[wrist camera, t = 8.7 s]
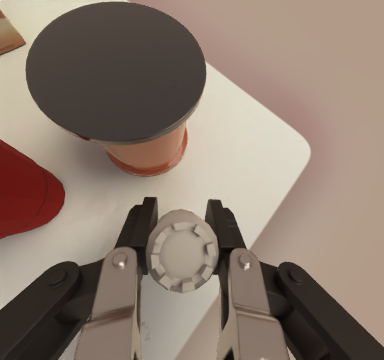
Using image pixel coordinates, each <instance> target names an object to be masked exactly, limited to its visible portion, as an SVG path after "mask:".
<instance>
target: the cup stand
mask: <svg viewBox="0 0 384 360" xmlns="http://www.w3.org/2000/svg"><path fill="white" fill-rule="evenodd" d="M26 80H27V84H28V88H29V91H30V93H31V95H32V97H33V100H34V101H35V103H36V104H37V105H38V107H39V108H40V110H41V111H42V112H43V113H44V114H45V115H46V116H47V117H48V118H49V119H51V120H52V121H53V122H54V123H56V124H57V125H58V126H60V127H61V128H62V129H64V130H65V131H67V132H69V133H70V134H72V135H74V136H77V137H79V138H81V139H84V140H87V141H91V142H94V143H99V144H101V145H102V146H103V147H104V148H105V150H106V152H107V154H108V156H109V157H110V159H111V160H112V161H113V162H114V163H115V164H116V165H117V166H118V167H119V168H121V169H122V170H124V171H125V172H127V173H130V174H133V175H136V176H147V177H148V176H155V175H159V174H162V173H165V172H167V171H168V170H170V169H171V168H173V167H174V166H175V165H176V164H177V163H178V162H179V161H180V160H181V158H182V156H183V155H184V152H185V149H186V145H187V130H186V127H185V124H186V120H187V119H188V118H189V117H190V116H191V115H192V114H193V112H194V111H195V109H196V108H197V106H198V104H199V102H200V100H201V98H202V94H203V91H204V87H205V81H206V64H205V60H204V56H203V53H202V50H201V48H200V46H199V44H198V42H197V41H196V39H195V38H194V37H193V35H192V34H191V33H190V32H189V31H188V30H187V29H186V28H185V27H184V26H183V25H182V24H181V23H180V22H178V21H177V20H175V19H174V18H172V17H171V16H169V15H167V14H165V13H163V12H161V11H159V10H157V9H154V8H151V7H148V6H145V5H140V4H136V3H128V2H101V3H95V4H90V5H86V6H82V7H79V8H76V9H73V10H71V11H69V12H67V13H65V14H63V15H61V16H60V17H58V18H56V19H55V20H53V21H52V22H51V23H50V24H49V25H47V26H46V27H45V28H44V29H43V30H42V31H41V32H40V34H39V35H38V36H37V38H36V39H35V41H34V42H33V44H32V46H31V48H30V50H29V53H28V57H27V61H26Z"/></svg>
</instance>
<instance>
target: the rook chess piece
mask: <svg viewBox="0 0 384 360" xmlns="http://www.w3.org/2000/svg"><path fill="white" fill-rule="evenodd" d="M218 256H219V247H218V242H217V237H216V235H215V234H214V232H213V230H212V229H211V227H210V225H209V224H208V223H206V222H205V221H203V220H202V219H201V218H199V217H198V216H197V215H195V214H194V213H192V212H190V211H186V210H182V209H180V210H174V211H170V212H169V213H167V214H166V215H164V216H162V218H161V219H160V220H159V222H158V223H157V226H156V227H155V229H154V230H153V231H152V233H151V234H150V236H149V239H148V243H147V246H146V262H147V267H148V269H149V271H150V273H151V275H152V277H153V279H154V280H155V281H156V282H157V283H159V284H160V285H161V286H162V287H164V288H165V289H166V290H170V291H175V292H179V293H184V292H188V291H192V290H196V289H198V288H199V287H200V286H202V285H203V284H204V283H206V282H207V281H208V280H209V279H210V277H211V275H212V274H213V272H214V270H215V269H216V267H217V262H218Z"/></svg>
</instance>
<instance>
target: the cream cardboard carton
mask: <svg viewBox="0 0 384 360" xmlns="http://www.w3.org/2000/svg"><path fill="white" fill-rule="evenodd" d="M24 44H26V42H25V41H24V39H23V38H22V37H21V35H20V34H19V33H18V31H17V30H16V29H15V28H14V26H13V25H12V24H11V23H10V21H9V20H8V19H7V18H6V16H5V15H4V14H3V13H2V11H1V10H0V54H2V53H5V52H7V51H10V50H12V49H15V48H17V47H19V46H22V45H24Z"/></svg>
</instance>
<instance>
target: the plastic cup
mask: <svg viewBox="0 0 384 360" xmlns="http://www.w3.org/2000/svg"><path fill="white" fill-rule="evenodd" d="M64 197H65V192H64V189H63V186H62V183H61V182H60V181H59V180H58V179H57V178H56V177H55V176H54V175H53V174H52V173H50V172H49V171H47V170H45V169H44V168H42V167H41V166H39V165H38V164H36V163H35V162H34V161H33V160H32V159H30V158H29V157H27V156H26V155H24V154H22V153H21V152H19V151H18V150H16V149H15V148H13V147H11V146H10V145H8V144H7V143H5V142H4V141H2V140H0V239H2V238H4V237H6V236H9V235H13V234H17V233H21V232H25V231H29V230H32V229H34V228H37V227H39V226H42V225H44V224H46V223H48V222H49V221H50V220H52V219H53V218H54V217H55V216H56V215H57V214H58V213H59V211H60V209H61V207H62V206H63V204H64Z"/></svg>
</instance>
